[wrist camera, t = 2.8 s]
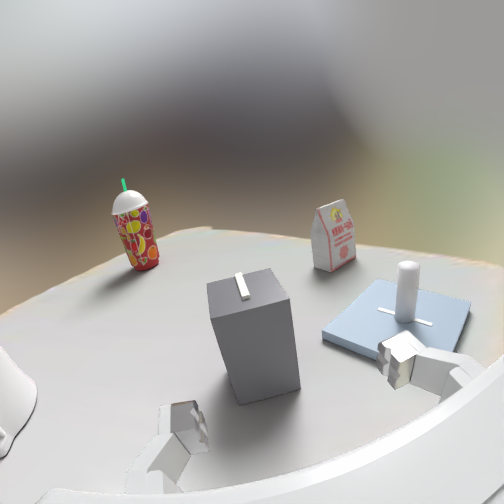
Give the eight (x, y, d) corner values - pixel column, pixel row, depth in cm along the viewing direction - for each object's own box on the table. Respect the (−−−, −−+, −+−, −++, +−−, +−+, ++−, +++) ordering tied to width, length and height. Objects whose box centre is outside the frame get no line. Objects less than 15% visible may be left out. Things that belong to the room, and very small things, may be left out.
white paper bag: (314, 267, 47) (307, 207, 44) (339, 252, 50) (334, 198, 47) (330, 272, 44) (325, 210, 41) (355, 257, 47) (352, 199, 44)
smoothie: (130, 265, 65) (106, 183, 57) (162, 254, 67) (140, 173, 60) (130, 277, 57) (102, 185, 50) (166, 265, 60) (141, 173, 53)
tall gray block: (300, 388, 24) (288, 295, 21) (239, 405, 24) (209, 315, 20) (283, 351, 30) (269, 265, 26) (230, 365, 29) (205, 280, 25)
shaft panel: (438, 383, 20) (457, 318, 17) (322, 338, 30) (318, 278, 28) (469, 310, 27) (479, 253, 24) (377, 286, 38) (377, 235, 35)
